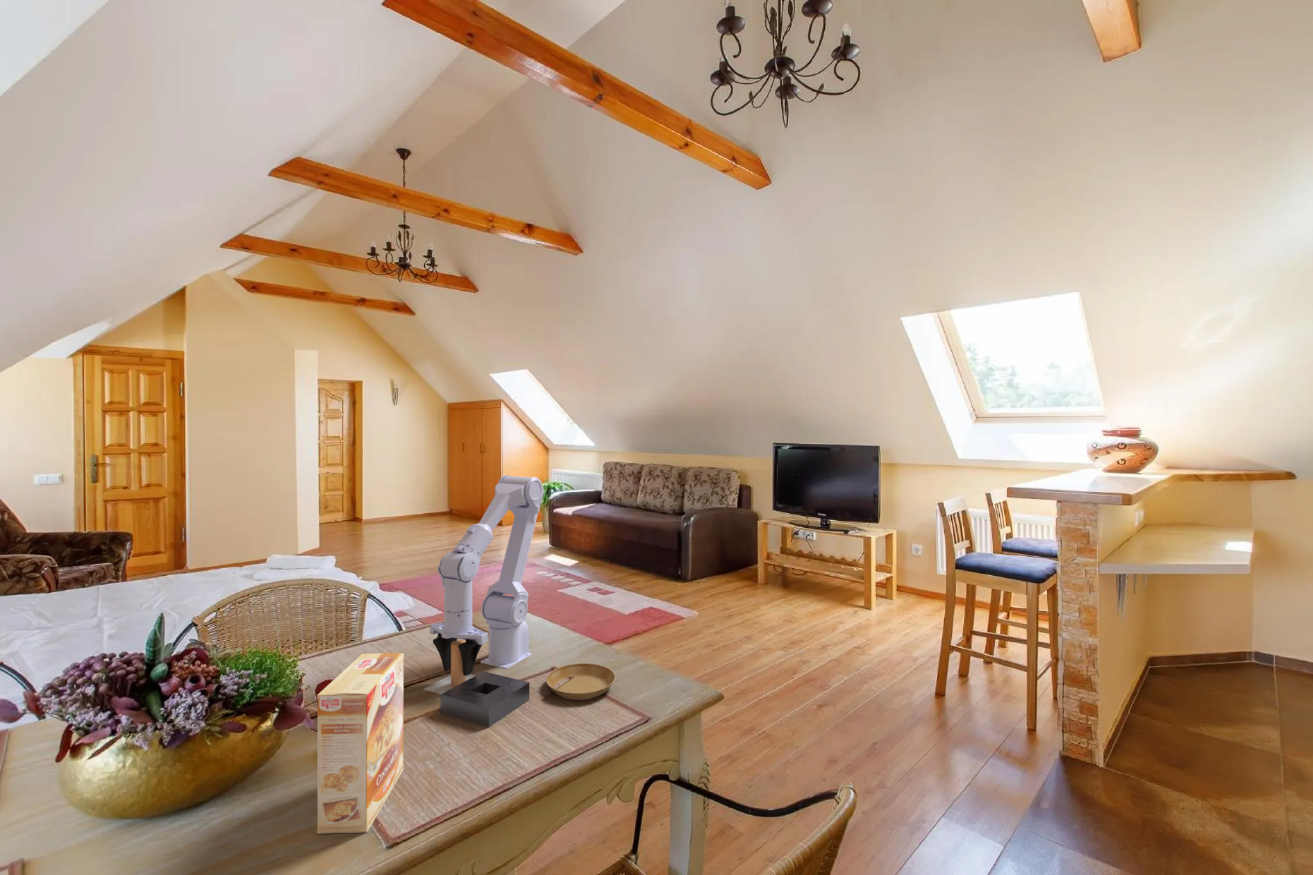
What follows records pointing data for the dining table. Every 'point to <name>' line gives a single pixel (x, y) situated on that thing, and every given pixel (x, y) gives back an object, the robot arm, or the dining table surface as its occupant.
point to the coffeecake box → (359, 742)
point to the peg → (456, 664)
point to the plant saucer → (581, 680)
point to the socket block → (484, 698)
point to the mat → (443, 685)
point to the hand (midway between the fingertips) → (458, 671)
